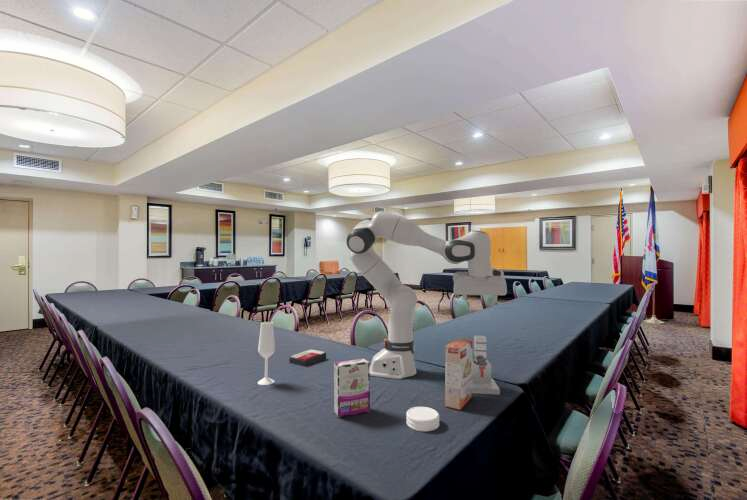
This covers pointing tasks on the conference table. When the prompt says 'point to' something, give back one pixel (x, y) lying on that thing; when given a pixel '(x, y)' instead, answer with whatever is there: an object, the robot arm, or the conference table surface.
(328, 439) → the conference table surface
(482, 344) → the column
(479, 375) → the housing
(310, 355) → the flat red white box
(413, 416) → the coaster
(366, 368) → the candy bar box
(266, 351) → the champagne flute
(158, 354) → the conference table surface
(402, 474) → the conference table surface
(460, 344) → the cracker box
